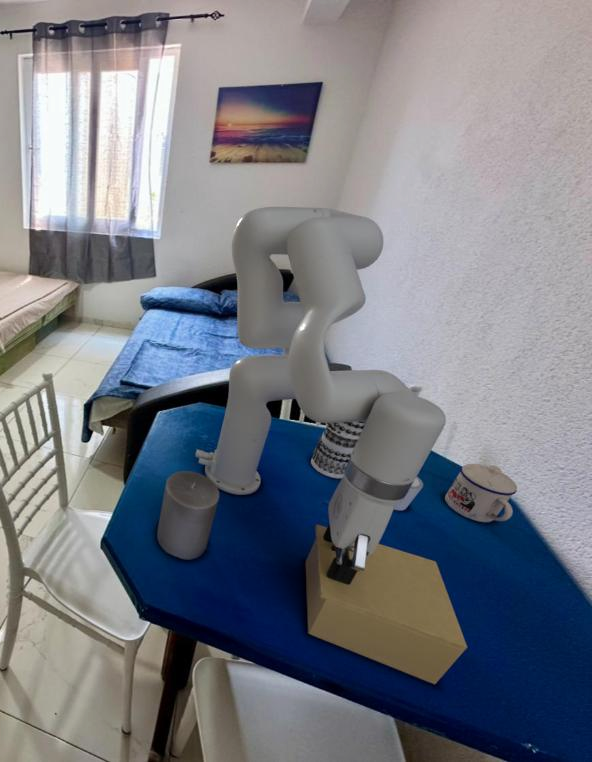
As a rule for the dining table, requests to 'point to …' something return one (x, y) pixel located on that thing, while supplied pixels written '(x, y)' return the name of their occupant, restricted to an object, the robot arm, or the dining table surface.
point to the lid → (393, 591)
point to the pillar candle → (187, 514)
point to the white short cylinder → (410, 495)
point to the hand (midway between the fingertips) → (335, 559)
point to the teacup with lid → (481, 493)
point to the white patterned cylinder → (336, 447)
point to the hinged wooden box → (374, 634)
